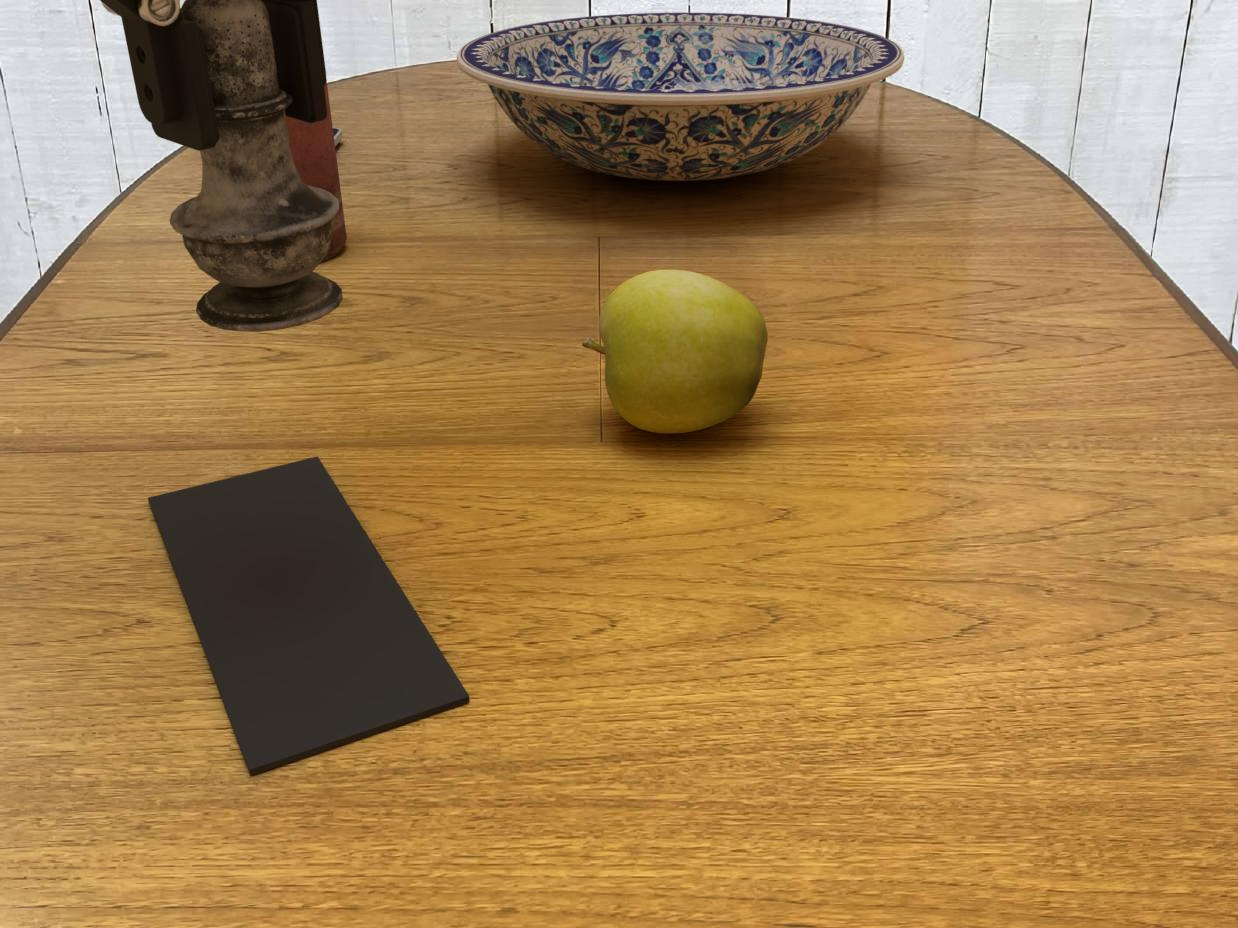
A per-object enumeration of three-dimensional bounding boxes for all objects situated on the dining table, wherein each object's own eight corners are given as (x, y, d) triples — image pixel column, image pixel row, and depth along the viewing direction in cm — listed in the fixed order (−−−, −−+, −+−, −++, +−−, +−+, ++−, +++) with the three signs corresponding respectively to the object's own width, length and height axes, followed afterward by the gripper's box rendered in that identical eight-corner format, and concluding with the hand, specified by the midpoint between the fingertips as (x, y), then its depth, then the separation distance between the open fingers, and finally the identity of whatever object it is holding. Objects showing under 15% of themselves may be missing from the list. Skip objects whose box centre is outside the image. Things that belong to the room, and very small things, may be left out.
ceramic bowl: (858, 111, 116) (868, -3, 111) (930, 240, 87) (948, 93, 82) (489, 113, 117) (482, 0, 112) (436, 242, 88) (423, 97, 82)
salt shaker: (182, 285, 48) (115, -50, 42) (336, 264, 50) (293, -61, 44) (194, 346, 43) (121, -23, 37) (364, 319, 45) (320, -36, 39)
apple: (585, 390, 67) (581, 249, 63) (755, 389, 67) (762, 247, 63) (581, 463, 61) (576, 310, 57) (769, 461, 61) (778, 308, 57)
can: (239, 264, 84) (201, 49, 77) (282, 232, 90) (251, 29, 83) (322, 271, 83) (291, 53, 76) (361, 238, 88) (336, 32, 81)
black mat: (250, 776, 43) (248, 769, 42) (148, 502, 58) (147, 497, 58) (470, 702, 46) (469, 695, 46) (318, 461, 61) (317, 455, 61)
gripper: (305, -497, 42) (367, 69, 51) (-254, -570, 31) (-48, 161, 40) (455, -527, 37) (493, 99, 46) (-137, -623, 27) (64, 212, 36)
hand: (241, 122), depth 43 cm, fingers closed on salt shaker, 3 cm apart
